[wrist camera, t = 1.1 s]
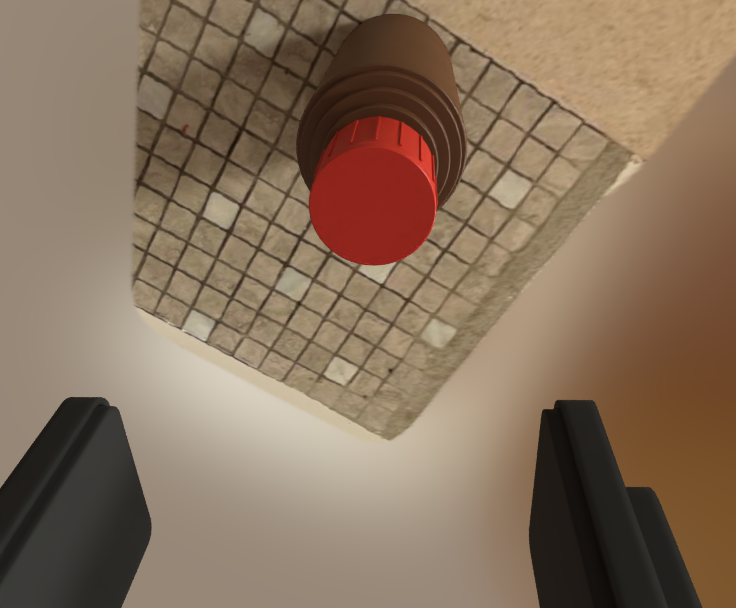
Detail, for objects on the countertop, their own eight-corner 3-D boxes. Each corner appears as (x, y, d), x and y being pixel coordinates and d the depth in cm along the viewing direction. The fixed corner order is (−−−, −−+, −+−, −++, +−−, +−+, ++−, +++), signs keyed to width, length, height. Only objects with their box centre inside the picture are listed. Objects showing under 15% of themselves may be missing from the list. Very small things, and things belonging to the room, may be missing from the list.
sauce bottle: (311, 90, 37) (233, 221, 22) (379, -14, 34) (346, 51, 19) (404, 158, 39) (394, 325, 23) (477, 64, 36) (521, 183, 20)
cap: (299, 183, 24) (283, 220, 21) (364, 91, 22) (356, 118, 19) (389, 245, 25) (386, 288, 22) (458, 161, 23) (464, 196, 20)
